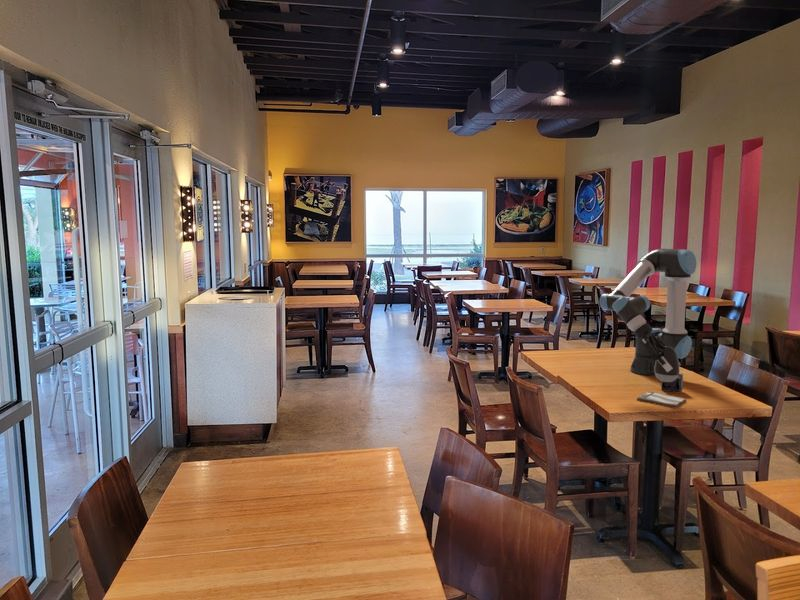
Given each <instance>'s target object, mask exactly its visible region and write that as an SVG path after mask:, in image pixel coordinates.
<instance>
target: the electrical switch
mask: <svg viewBox="0 0 800 600" xmlns="http://www.w3.org/2000/svg"><path fill="white" fill-rule="evenodd" d="M683 385H684V374H683V373H681V372H680V373H679V375H678V377H677V379H676V380H675V381H672V382H664V381H660V389H661V391H663V390H666V391H665V392H670V391H672V392H671V393H676V392H680V391H682V392H683V387H684V386H683Z"/></svg>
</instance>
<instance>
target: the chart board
mask: <svg viewBox="0 0 800 600" xmlns="http://www.w3.org/2000/svg"><path fill="white" fill-rule="evenodd" d="M636 400H637V401H639V400H640V401H639V402H643V401H645V402H644V403H648V402H650V403H649V404H653V403H656V404H655V405H658V404H660V405H659V406H663V405H664V407H667V406H668V408H672V407H673V409H676V408H678V407H679V406H680V405H682V404H683V402H684V401H685V402H686V401H687V398H684V397H679V396H674V395H668V394H664V393H658V392H652V391H647V392H646V393H644V394H642V395H640V396H638V397H636ZM685 402H684V403H685ZM681 403H682V404H681ZM678 405H679V406H678Z"/></svg>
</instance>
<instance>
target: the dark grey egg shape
mask: <svg viewBox="0 0 800 600" xmlns="http://www.w3.org/2000/svg"><path fill="white" fill-rule="evenodd" d="M657 350H658V351H659V352H660V355H661V357H662V356H663V357H664V358H665V359H666V361H667V362H668V363H669V364H670V365H671V367H672V368H673V369H672V370H670V371H669V372H667V371H666V370H665V369H664V368H663V366H662V365H661V364H660V363H659V362H658V360H656V362H655V366H654V372H655V375H654V376H655V378H656V379H658V380H659V381H660V382H661V381H664V382H672V381H675V380H676V379H677V377H678V375H679V373H681V372H680V371H681V370H680V369H681V368H680V366H679V363H680V361H679V358H678V357H677V354H676V352H675V350H674V349H673V348H672V347H670V346H666V347H664V348H662V349H659V348H657Z"/></svg>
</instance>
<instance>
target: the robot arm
mask: <svg viewBox="0 0 800 600" xmlns="http://www.w3.org/2000/svg"><path fill="white" fill-rule="evenodd" d="M635 265H636V266H635V267H634V268H633V269H632V270H631V271H630V272H629V274H627V275H626V277H624V278H623V279H622V281H620V282H619V284H618V285H616V287H614V289H613V290H612V291H611V292H610V293H603V294H601V295H600V297H599V303H598V304H599V306H600V308H602V309H603V310H608V311H614V312H615V313H616V314H617V315H618V317H620V319H621V320H622V321H623V323H624V324H625V325H626V327H627V328H628V329H629V330H630V331H631V332H633V335H635V349H634V351H635V353H634V358H633V361H632V362H631V365H630V372H632V373H634V374H637V375H642V376H655V372H654V366H655V362H656V360H658V362H659V363H660V364H661V365H662V366H663V368H664V369H665V370H666V371H667V372H669V371H670V370H672V369H673V368H672V367H671V365H670V364H669V363H668V362H667V361H666V359H665V358H664V357H663V356H662V357H661V355H660V352H659V351H658V350H657V348H659V349H662V348H664V347H666V346H670V347H672V348H673V349H674V350H675V352H676V354H677V357H678V359H684V358H686V357H687V356H688V354H689V353H690V351H691V349H692V345H693V340H692V338H691V337H692V336H689V335H688V331H687V329H686V328H685V325H686V324H685V321H686V320H685V319H686V307H687V306H686V304H687V302H686V301H687V300H686V299H687V285H688V280H689V279H690V278H691V275H693V274H694V273H695V272H696V269H697V258H696V256H695V254H694V252H693V251H691V250H689V249H684V248H683V249H682V248H680V249H679V248H675V249H674V248H657V249H654V250H651V251H650V252H648V253H646V254H644V255H643V256H642V257H641V258H640V259H639V260H638V261H637V262H636V264H635ZM659 272H660V273H664V277H665V278H666V279H667V291H666V292H667V293H666V306H665V307H666V308H665V309H666V310H665V327H664V328H662V329H661V328H660V327H659V328H658V327H652V326H651V325H650V324H649V323H648V322H647V320H646V319H645V317H644V316H643V315H641V313H642V314H643V313H645V312H646V311H648V310H649V309H650V307H651V302H650V298H648V297H647V296H645V295H637V296H631V295H632V294H633V293H634V292H635V291H636V290H637V289H638V288H639V287H640V286H641V285H642V284H643V283H644V282H645V280H646V279H647V278H648V277H650V276H653V275H654V274H655V273H659ZM680 366H681V363H680V362H679V367H680Z"/></svg>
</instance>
